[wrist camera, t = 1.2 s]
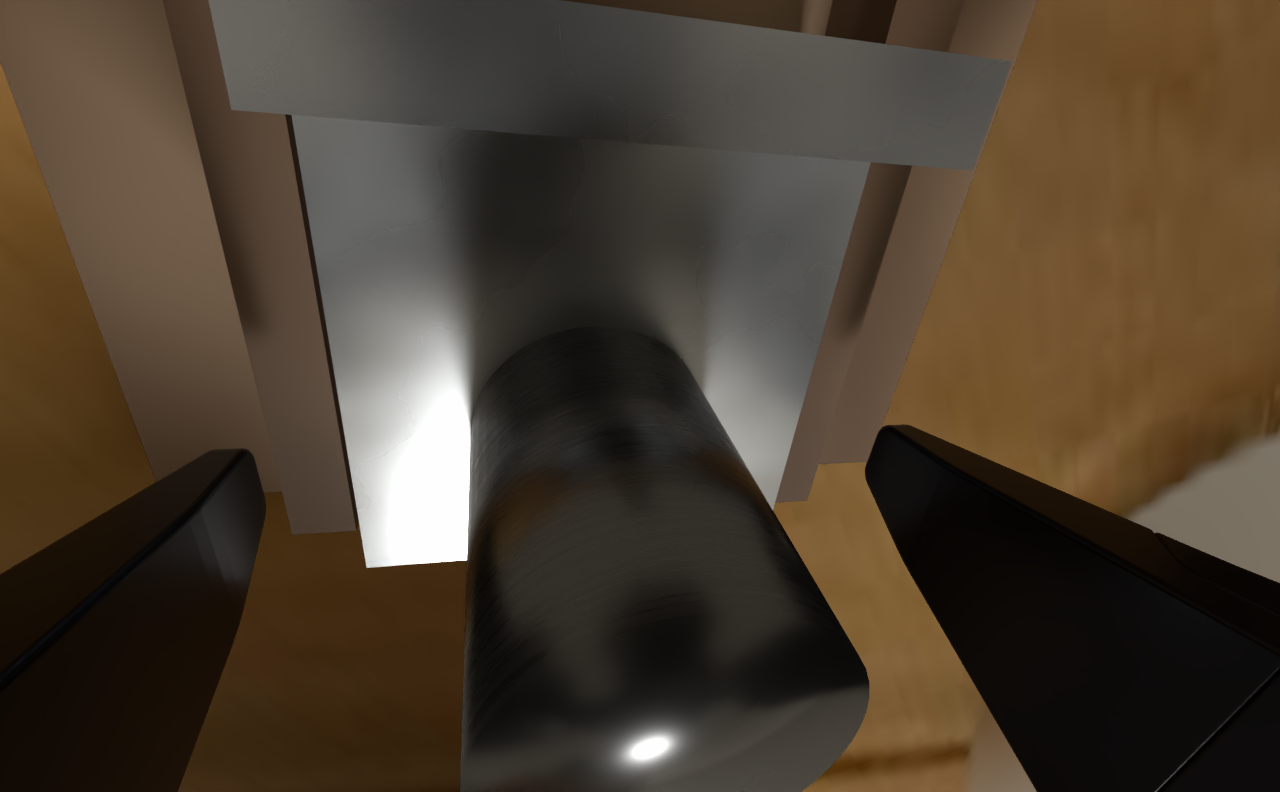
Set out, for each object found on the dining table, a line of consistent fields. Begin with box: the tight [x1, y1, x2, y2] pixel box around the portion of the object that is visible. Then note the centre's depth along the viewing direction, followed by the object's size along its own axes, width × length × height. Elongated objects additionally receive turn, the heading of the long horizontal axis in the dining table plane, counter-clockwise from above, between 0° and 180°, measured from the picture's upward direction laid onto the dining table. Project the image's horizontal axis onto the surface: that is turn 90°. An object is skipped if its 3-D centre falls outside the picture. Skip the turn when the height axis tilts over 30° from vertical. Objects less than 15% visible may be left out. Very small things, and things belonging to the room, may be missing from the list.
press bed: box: [0, 0, 1038, 535], centre depth 9 cm, size 15×16×3 cm
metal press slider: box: [208, 0, 1012, 792], centre depth 8 cm, size 7×8×7 cm
